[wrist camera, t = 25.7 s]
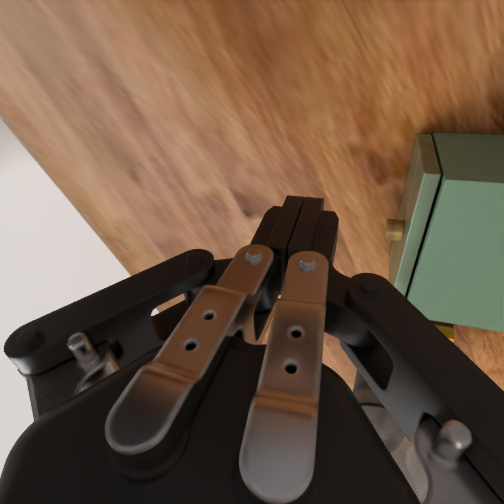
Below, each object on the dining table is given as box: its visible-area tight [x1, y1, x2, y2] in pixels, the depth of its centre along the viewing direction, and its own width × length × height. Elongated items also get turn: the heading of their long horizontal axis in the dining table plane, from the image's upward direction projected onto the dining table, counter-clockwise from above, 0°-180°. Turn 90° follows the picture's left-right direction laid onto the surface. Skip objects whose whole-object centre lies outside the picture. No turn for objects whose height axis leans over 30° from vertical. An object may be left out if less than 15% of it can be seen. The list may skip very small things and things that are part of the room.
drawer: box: [383, 134, 442, 296], centre depth 32 cm, size 17×15×8 cm
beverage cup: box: [353, 369, 405, 453], centre depth 45 cm, size 7×7×20 cm
